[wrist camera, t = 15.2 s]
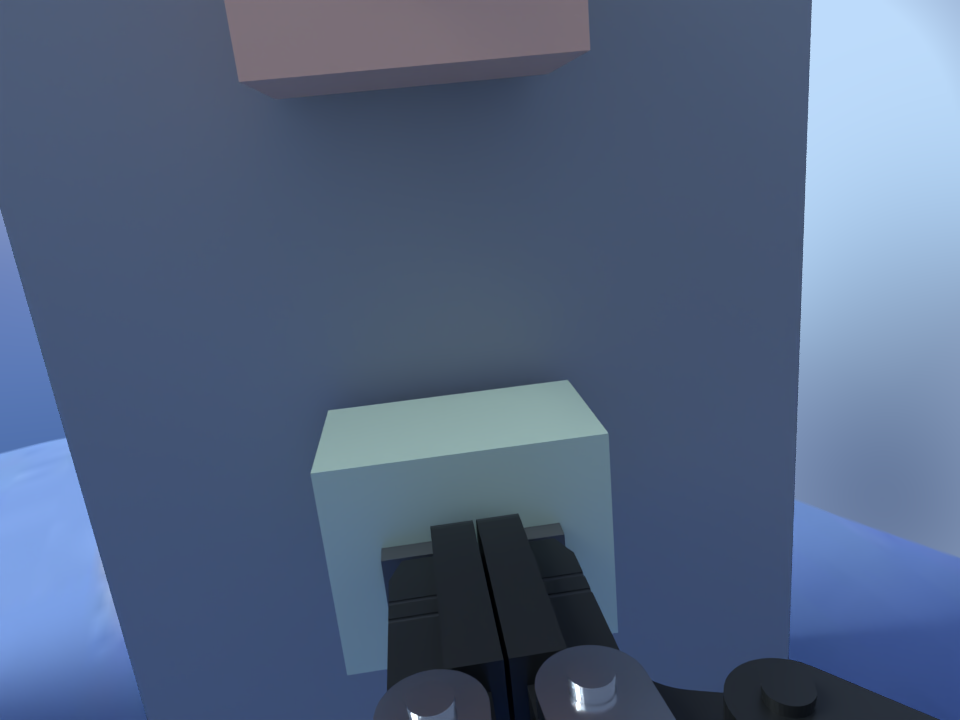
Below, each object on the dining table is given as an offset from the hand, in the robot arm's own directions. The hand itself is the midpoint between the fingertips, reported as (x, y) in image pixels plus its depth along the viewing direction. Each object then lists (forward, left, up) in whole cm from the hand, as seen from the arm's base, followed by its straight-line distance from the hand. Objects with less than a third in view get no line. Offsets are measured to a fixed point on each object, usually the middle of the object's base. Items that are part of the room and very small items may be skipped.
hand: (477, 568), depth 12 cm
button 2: (+1, +1, -2) cm, 3 cm away
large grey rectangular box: (+4, +6, -11) cm, 13 cm away
